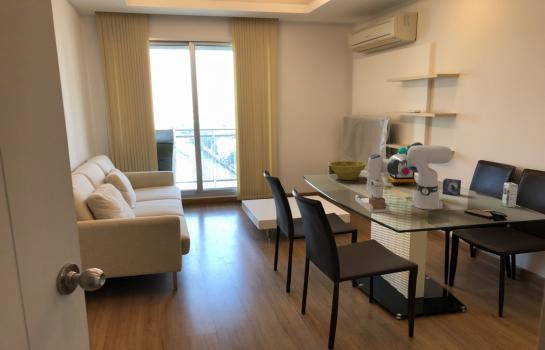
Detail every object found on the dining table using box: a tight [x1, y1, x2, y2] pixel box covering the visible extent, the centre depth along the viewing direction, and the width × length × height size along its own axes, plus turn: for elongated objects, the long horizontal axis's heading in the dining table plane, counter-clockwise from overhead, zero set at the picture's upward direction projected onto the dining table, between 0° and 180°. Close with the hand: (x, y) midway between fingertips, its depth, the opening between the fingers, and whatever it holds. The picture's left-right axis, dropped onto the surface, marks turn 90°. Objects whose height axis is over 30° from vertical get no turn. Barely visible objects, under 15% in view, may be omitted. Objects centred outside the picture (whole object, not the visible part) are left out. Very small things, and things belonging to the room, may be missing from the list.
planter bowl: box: [328, 160, 368, 181], centre depth 337 cm, size 32×32×13 cm
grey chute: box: [354, 193, 390, 213], centre depth 253 cm, size 30×12×4 cm, turn 6°
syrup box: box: [501, 182, 519, 208], centre depth 244 cm, size 6×6×14 cm
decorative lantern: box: [387, 146, 417, 187], centre depth 311 cm, size 20×20×30 cm
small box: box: [441, 177, 462, 197], centre depth 277 cm, size 11×6×10 cm, turn 47°
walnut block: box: [368, 196, 386, 209], centre depth 244 cm, size 6×8×6 cm
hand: (373, 201), depth 249 cm, fingers closed
